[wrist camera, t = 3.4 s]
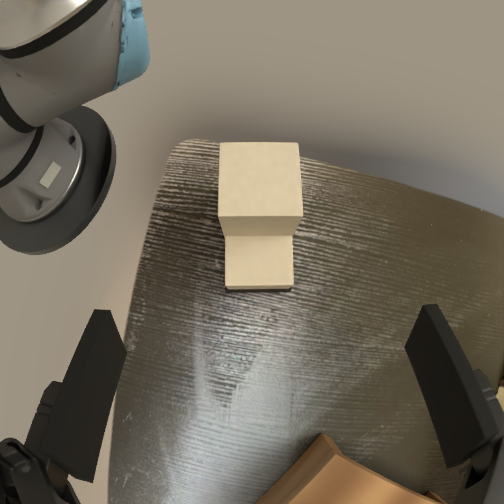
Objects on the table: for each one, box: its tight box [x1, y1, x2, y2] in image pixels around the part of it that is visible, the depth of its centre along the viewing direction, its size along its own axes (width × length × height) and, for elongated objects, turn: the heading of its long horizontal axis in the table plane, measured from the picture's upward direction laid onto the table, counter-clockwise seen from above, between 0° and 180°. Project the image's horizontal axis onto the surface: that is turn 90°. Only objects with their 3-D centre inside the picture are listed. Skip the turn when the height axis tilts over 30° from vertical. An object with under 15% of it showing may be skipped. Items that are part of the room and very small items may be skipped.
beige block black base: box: [218, 142, 303, 292], centre depth 28 cm, size 11×6×10 cm, turn 1°
